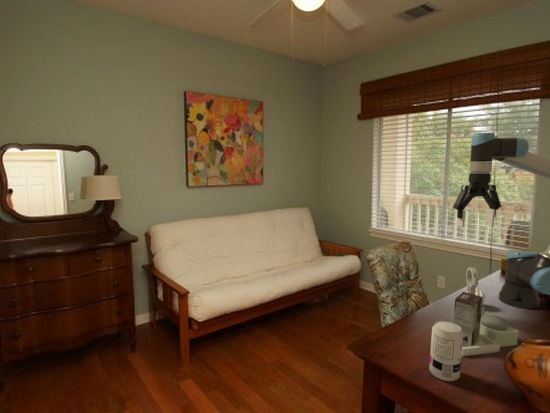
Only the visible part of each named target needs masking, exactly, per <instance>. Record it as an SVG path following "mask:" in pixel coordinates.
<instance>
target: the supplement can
mask: <svg viewBox="0 0 550 413" xmlns="http://www.w3.org/2000/svg"><path fill="white" fill-rule="evenodd" d="M431 328H432V330H431V340H430V354H429V355H430V356H429V371H430V373H431V374H432V375H433V376H434V377H435V378H437V379H439V380H441V381H444V382H455V381H457V380H458V379H460V377H461V368H462V366H461V365H462V358H463V356H462V345H463V332H462V330H461V328H460V326H458V325H457V324H454V323H453V322H451V321H447V320H446V321H445V320H441V321H440V320H439V321H435V323H434V325H433V326H432V327H431Z"/></svg>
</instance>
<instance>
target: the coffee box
mask: <svg viewBox="0 0 550 413" xmlns="http://www.w3.org/2000/svg"><path fill="white" fill-rule="evenodd" d="M466 292H467V291H462V292H461V293H460V294H459V295H458V296H457V297H456V298H455V299H454V312H453V322H452V323H454V324H457V325H458V326H460V328H461V330H462V332H463V345H462V347H470V346H475V344H476V343H477V342H478V341H479V335H480V323H481V311H482V307H483V304H482V298H483V297H481V296H477V295H474V294H471V293H466Z"/></svg>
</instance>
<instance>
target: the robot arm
mask: <svg viewBox="0 0 550 413" xmlns="http://www.w3.org/2000/svg"><path fill="white" fill-rule="evenodd" d="M495 135H496V134H495V133H494V132H476V133H474V134H472V136H471V137H472V138H471V143H470V159H469V171H468V172H470V173H469V174H468V183H469V185H466V184H462V185H461V189H460V191H459V194H458V195H457V198H456V199H455V202H454V204H453V206H452V208H453V209H455V210H457V212H456V217H457V226H458V227H462V228H465V224H466V223H465V221H466V220H465V219H466V210H465V209H466V207H467V206H468V205H469V204H470V202H471V201H472V200H473V199H474V198H476V197H482V198H483V199H484V201H485V202H486V204H487V205H488V207H489V208H488V209H487V216H486V218H487V219H486V226H487V225H488V226H492V227H493V226H494V224H495V218H496V216H497V215H496V214H497V211H498V210H499V209H500V208H502V204H501V200H500V198H499V195H498V192H497V185H495V184H490V183H491V182H492V181H491V180H492V179H491V178H492V174H491V173H492V168H493V167H492V166H493V161H494V160H495V161H498V162H501V163H503V164H506V165H509V166H511V167H513V168H517V169H519V170H522V171H526V172H528V173H530V174H533V175H536V176H538V177H542V178H544V179H546V180H550V158H548V157H544V156H541V155H538V154H536V153H533V152H530V151H529V146H530V145H529V141H528V140H527V139H526V138H522V137H496V136H495ZM504 274H505V276H504V283H503V285H502V286H501V289H500V291H499V293H498V300H499V301H501V302H502V303H504V304H506V305H509V306H512V307H515V308H520V309H528V310H531V309H533V310H534V309H538V308H540V306H541V299H540V298H539V293H542V294H544V295H548V296H550V244H548V246H547V248H545V250H544V251H541V252H534V251H528V250H527V251H525V250H511V251H508V252H507V256H506V264H505V273H504ZM538 292H539V293H538Z"/></svg>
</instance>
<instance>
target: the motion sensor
mask: <svg viewBox="0 0 550 413" xmlns="http://www.w3.org/2000/svg"><path fill="white" fill-rule="evenodd" d="M465 292H466V293H468V290H466V291H465ZM475 295H477V296H481V297H483V298H482V305H483V304H484V303H485V300H486V295H485V294H484V292H483V290H481V289H479V288H477V287H476V288H475Z"/></svg>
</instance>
